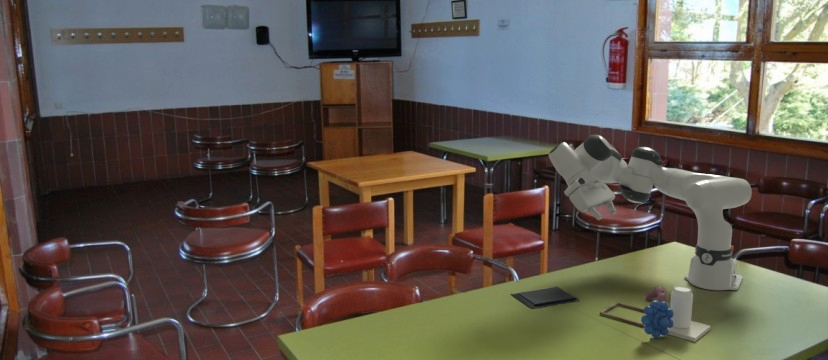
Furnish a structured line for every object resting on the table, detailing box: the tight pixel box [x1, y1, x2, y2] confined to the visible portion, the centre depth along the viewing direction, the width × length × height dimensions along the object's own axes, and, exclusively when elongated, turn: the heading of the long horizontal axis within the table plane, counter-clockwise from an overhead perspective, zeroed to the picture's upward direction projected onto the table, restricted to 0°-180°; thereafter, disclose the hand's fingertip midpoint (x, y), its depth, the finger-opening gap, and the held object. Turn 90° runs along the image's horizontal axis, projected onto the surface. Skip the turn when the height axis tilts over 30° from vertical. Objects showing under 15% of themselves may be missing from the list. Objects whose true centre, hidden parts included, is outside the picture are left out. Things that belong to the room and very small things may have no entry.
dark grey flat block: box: [509, 286, 581, 310], centre depth 238 cm, size 20×2×15 cm
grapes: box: [640, 299, 674, 339], centre depth 204 cm, size 12×7×12 cm, turn 112°
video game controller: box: [645, 285, 669, 306], centre depth 232 cm, size 10×5×7 cm, turn 170°
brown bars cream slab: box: [599, 301, 712, 343], centre depth 218 cm, size 12×31×1 cm, turn 47°
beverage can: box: [669, 285, 694, 329], centre depth 210 cm, size 6×6×12 cm
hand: (607, 216), depth 231 cm, fingers open, 8 cm apart
